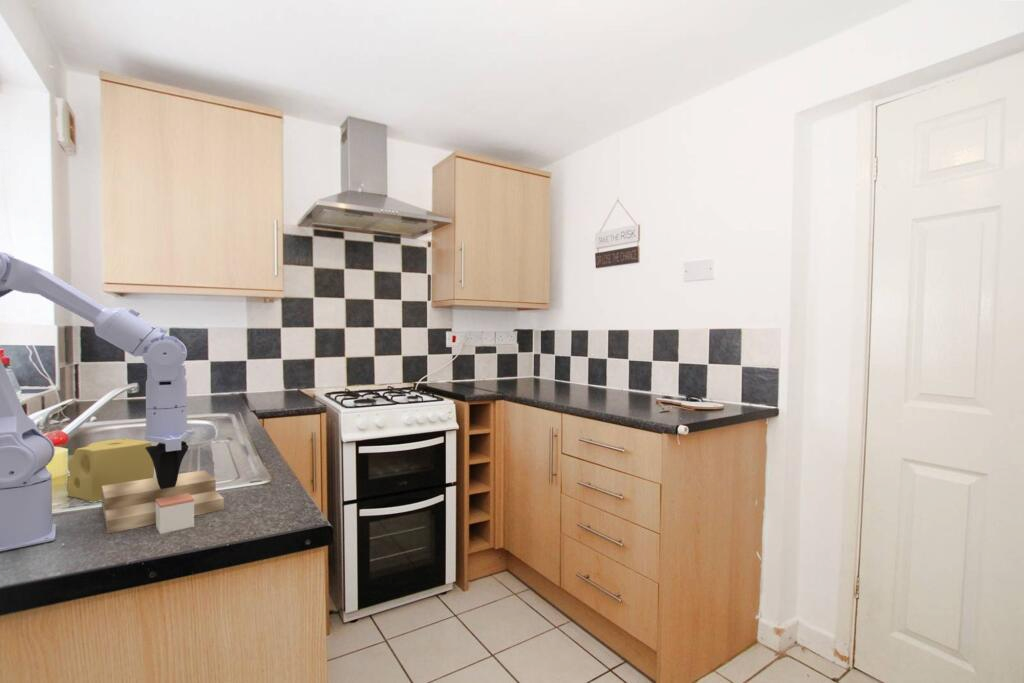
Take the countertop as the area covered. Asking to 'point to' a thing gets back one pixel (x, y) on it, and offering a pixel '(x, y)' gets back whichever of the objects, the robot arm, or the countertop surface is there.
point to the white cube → (174, 513)
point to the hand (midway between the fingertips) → (167, 487)
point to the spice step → (138, 499)
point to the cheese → (107, 466)
